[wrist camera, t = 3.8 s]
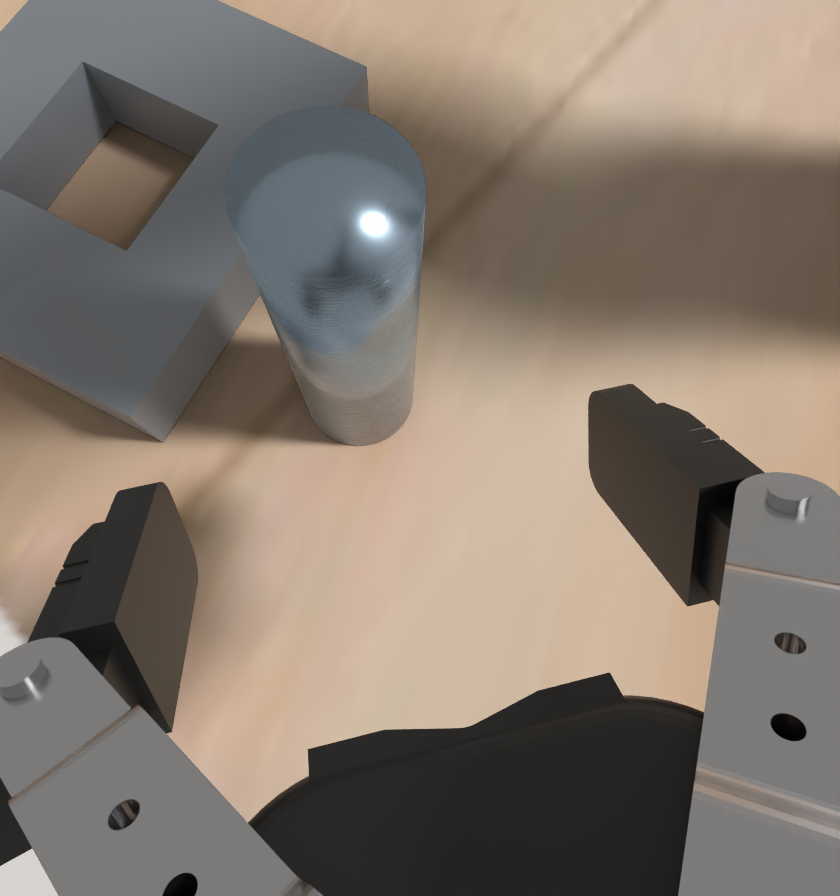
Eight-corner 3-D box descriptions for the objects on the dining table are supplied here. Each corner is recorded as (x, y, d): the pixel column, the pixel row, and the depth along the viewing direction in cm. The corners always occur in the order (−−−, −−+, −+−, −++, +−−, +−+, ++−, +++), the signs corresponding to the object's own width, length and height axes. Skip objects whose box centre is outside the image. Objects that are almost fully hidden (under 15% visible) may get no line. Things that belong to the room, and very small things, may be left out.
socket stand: (113, 8, 29) (82, -61, 26) (369, 125, 28) (366, 67, 25) (-125, 291, 25) (-194, 247, 22) (162, 442, 24) (129, 416, 21)
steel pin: (339, 329, 25) (289, 77, 14) (430, 374, 25) (460, 154, 13) (287, 416, 24) (184, 223, 12) (381, 464, 24) (366, 311, 12)
